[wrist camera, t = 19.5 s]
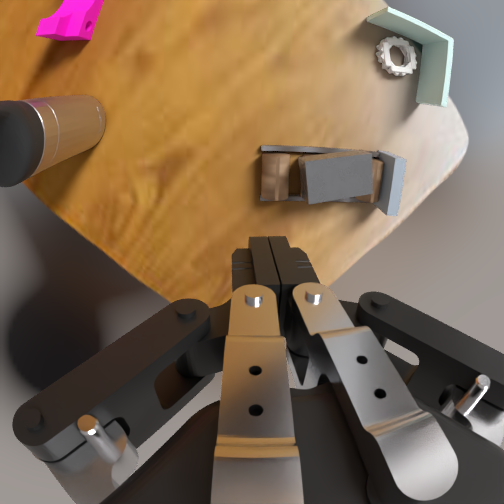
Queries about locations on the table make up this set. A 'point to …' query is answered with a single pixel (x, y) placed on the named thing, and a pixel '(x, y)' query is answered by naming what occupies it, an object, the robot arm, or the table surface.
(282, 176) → the roller bed
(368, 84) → the table surface
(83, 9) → the magenta curved bracket
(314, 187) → the slab
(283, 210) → the table surface
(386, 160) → the stop gate
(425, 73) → the l-shaped corner panel
